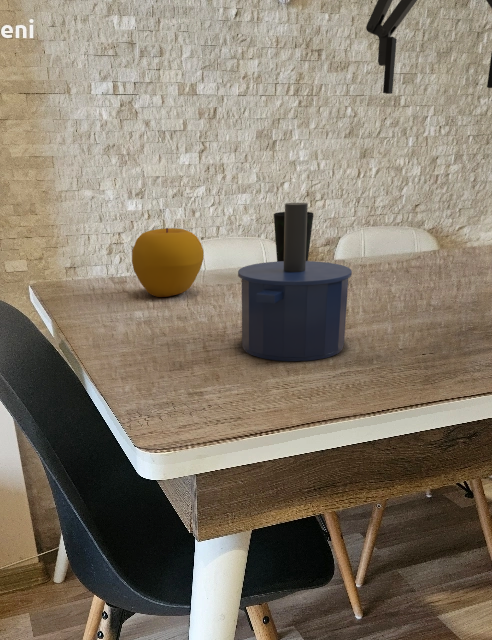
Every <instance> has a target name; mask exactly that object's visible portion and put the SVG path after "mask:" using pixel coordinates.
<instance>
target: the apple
mask: <svg viewBox="0 0 492 640" xmlns="http://www.w3.org/2000/svg"><path fill="white" fill-rule="evenodd" d="M132 247H133V248H132V250H131V251H132V253H131V263H132V269H133V272H134V274H135V275H136V278H137V279H138V281H139V283H140V284H141V285H142V287H143V288H144V289H145V291H146V292H147V293H148V294H149V295H151V296H153V297H156V298H166V297H173V296H176V295H177V296H178V295H181V294H182V293H185V292H186V291H188V290H189V289H190V288H191V286H192V285H193V284H194V282H195V280H196V279H197V277H198V275H199V272H200V271H201V269H202V265H203V261H204V248H203V245H202V243H201V241H200V239H199V237H198V236H197V235H195V234H194V233H193V232H191V231H189V230H187V229H183V228H176V227H175V228H174V227H166V228H156V229H152V230H147V231H144V232H142V233H141V234H140V235H139V236H138V237H137V238H136V240H135V243H134V245H133V246H132Z"/></svg>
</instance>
